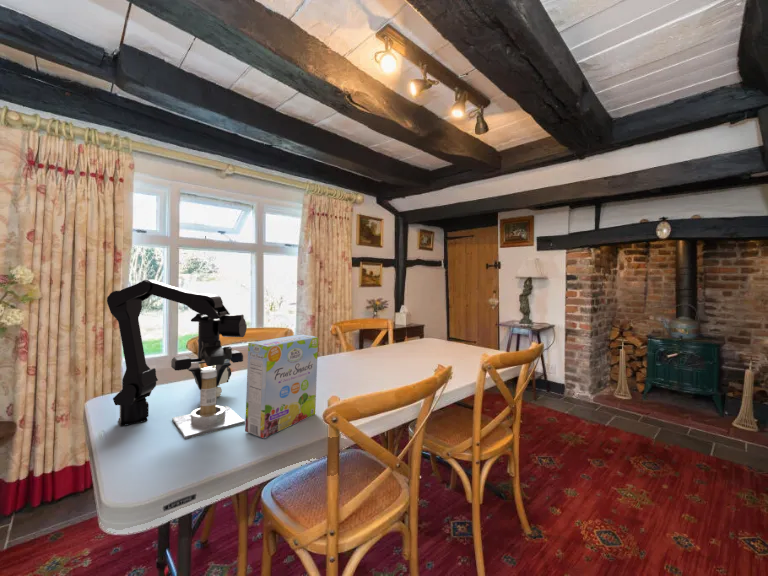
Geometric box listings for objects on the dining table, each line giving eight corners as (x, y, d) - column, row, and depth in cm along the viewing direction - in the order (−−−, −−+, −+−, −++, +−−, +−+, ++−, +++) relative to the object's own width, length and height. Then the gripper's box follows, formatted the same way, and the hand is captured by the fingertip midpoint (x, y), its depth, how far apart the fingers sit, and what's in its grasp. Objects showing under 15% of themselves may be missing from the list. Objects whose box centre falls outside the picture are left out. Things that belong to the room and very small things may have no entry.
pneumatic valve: (194, 400, 123) (194, 366, 123) (223, 391, 133) (223, 360, 133) (204, 403, 121) (204, 369, 120) (233, 393, 131) (233, 362, 131)
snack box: (265, 440, 94) (266, 346, 93) (243, 433, 98) (244, 342, 98) (318, 414, 113) (319, 335, 112) (297, 409, 117) (299, 333, 117)
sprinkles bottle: (216, 410, 108) (216, 367, 108) (216, 415, 104) (217, 371, 104) (199, 413, 106) (199, 369, 106) (199, 418, 102) (200, 373, 102)
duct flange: (185, 438, 94) (185, 426, 94) (172, 420, 106) (172, 409, 106) (244, 423, 105) (245, 412, 105) (227, 408, 117) (227, 398, 117)
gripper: (180, 343, 92) (179, 402, 93) (250, 337, 105) (249, 388, 105) (171, 338, 101) (170, 391, 101) (237, 332, 113) (236, 380, 114)
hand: (208, 387), depth 105 cm, fingers closed on sprinkles bottle, 4 cm apart
